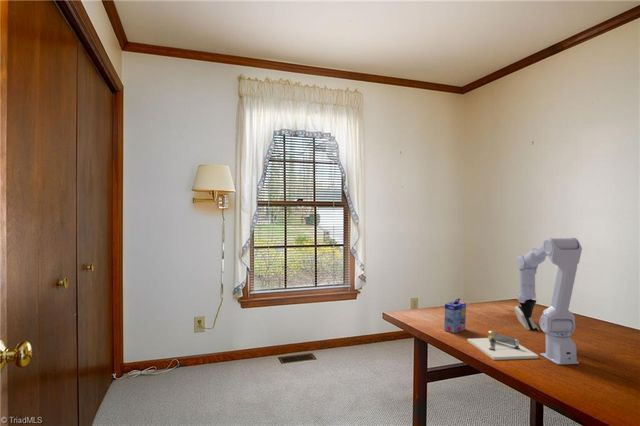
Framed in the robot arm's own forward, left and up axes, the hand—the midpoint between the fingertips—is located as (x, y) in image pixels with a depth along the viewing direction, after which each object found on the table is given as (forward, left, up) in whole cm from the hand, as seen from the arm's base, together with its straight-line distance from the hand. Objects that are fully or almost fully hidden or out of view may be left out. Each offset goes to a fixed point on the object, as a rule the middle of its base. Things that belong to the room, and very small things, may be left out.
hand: (527, 317), depth 154 cm
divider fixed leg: (-8, +20, -8) cm, 23 cm away
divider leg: (-7, +15, -8) cm, 18 cm away
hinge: (+20, -12, -10) cm, 26 cm away
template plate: (-9, +17, -9) cm, 21 cm away
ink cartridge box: (+16, +24, -10) cm, 30 cm away
